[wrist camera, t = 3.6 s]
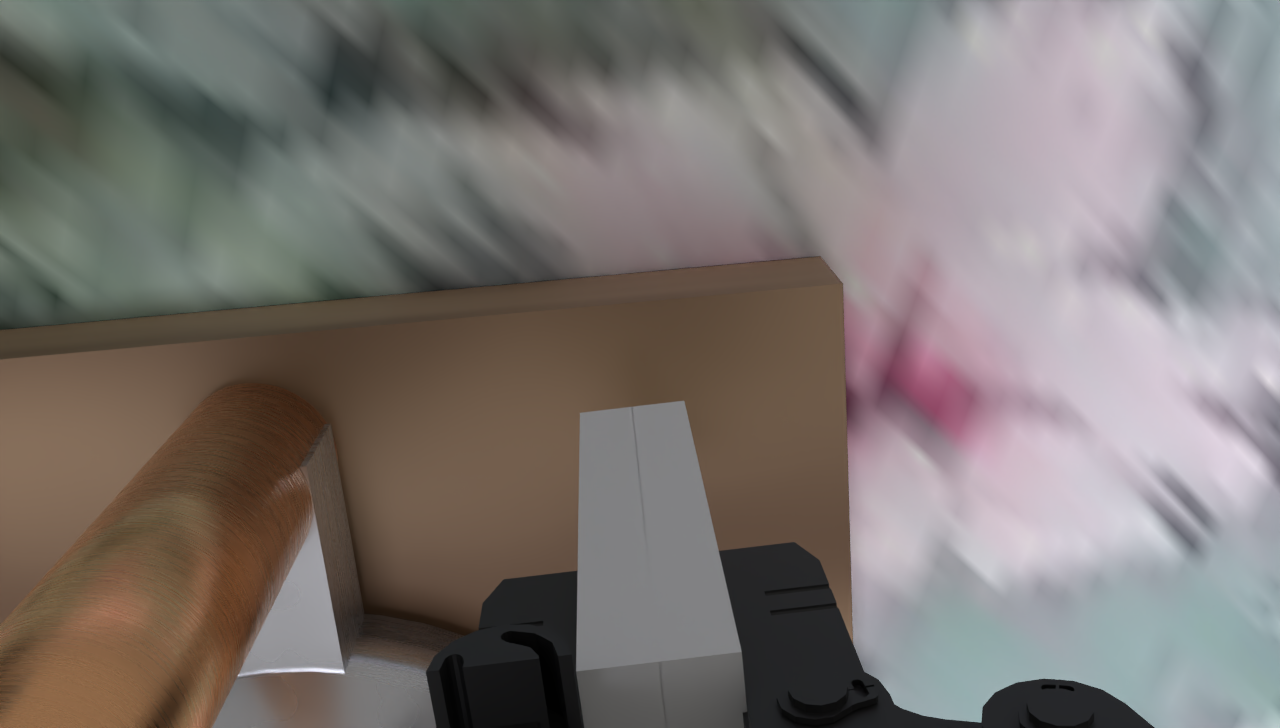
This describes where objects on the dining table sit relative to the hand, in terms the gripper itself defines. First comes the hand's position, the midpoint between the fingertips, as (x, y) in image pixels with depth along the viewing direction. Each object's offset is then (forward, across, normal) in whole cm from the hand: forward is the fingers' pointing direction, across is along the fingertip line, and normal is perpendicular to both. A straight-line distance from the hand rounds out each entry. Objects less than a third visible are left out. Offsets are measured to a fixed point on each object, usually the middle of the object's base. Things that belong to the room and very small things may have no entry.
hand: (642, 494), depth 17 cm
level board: (+5, -7, -9) cm, 12 cm away
